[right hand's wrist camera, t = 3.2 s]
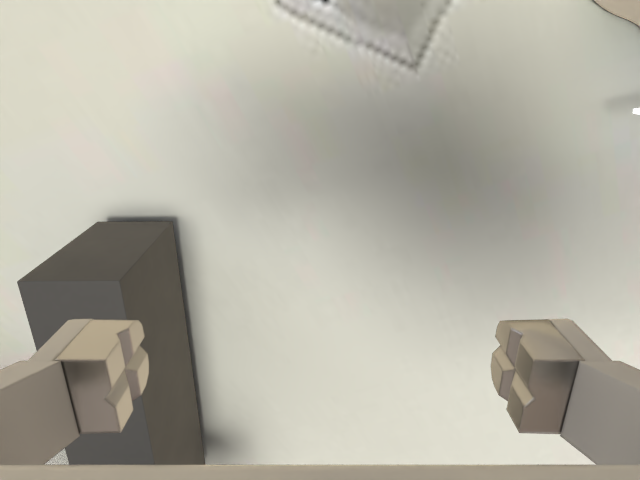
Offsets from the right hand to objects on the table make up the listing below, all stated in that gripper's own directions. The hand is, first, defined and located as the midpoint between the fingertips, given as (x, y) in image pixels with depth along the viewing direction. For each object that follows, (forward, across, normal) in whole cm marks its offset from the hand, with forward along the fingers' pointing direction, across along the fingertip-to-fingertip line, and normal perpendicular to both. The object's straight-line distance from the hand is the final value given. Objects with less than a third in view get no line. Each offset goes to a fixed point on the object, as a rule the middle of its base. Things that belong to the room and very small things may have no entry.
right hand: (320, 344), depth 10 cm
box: (+27, -15, -20) cm, 37 cm away
